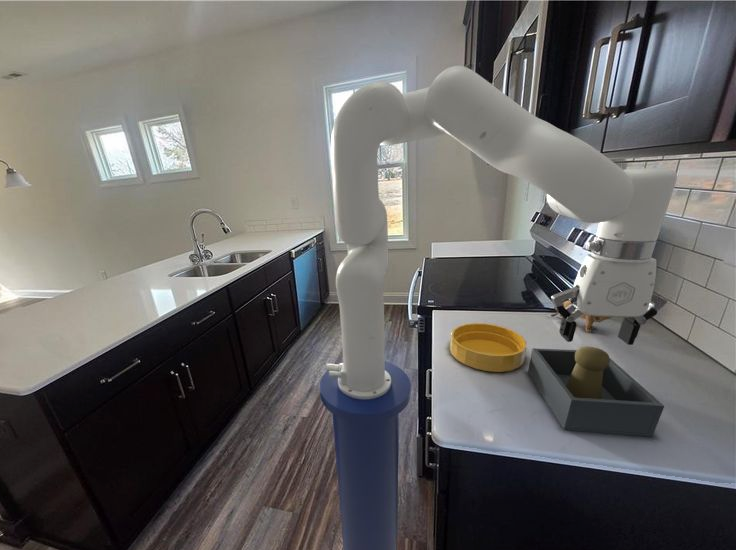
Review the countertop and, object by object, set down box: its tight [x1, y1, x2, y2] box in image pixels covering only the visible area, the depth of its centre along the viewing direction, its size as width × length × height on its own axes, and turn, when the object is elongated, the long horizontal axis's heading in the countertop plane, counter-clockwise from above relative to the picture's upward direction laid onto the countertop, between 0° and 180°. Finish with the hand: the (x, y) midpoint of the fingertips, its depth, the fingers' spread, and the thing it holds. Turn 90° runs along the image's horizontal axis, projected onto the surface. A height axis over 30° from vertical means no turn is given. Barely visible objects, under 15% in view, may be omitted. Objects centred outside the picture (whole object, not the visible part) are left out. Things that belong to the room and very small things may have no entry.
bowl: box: [449, 322, 528, 373], centre depth 81 cm, size 17×17×4 cm
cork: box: [566, 345, 611, 399], centre depth 61 cm, size 6×6×11 cm
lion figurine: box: [550, 300, 614, 333], centre depth 91 cm, size 15×5×9 cm, turn 35°
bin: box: [527, 347, 665, 438], centre depth 62 cm, size 14×18×7 cm
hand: (594, 339), depth 59 cm, fingers open, 9 cm apart
